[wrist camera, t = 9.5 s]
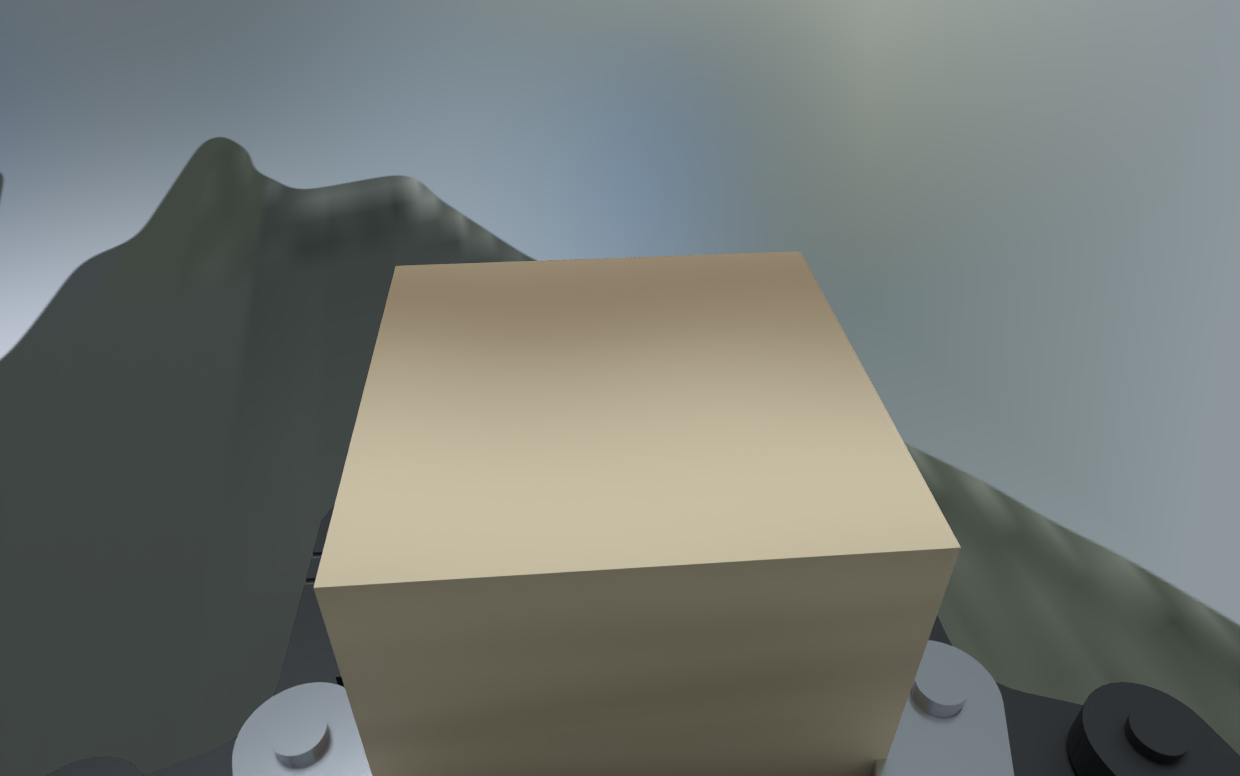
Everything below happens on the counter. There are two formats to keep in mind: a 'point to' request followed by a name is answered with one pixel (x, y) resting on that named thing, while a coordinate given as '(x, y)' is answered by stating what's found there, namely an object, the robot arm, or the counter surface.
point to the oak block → (626, 527)
